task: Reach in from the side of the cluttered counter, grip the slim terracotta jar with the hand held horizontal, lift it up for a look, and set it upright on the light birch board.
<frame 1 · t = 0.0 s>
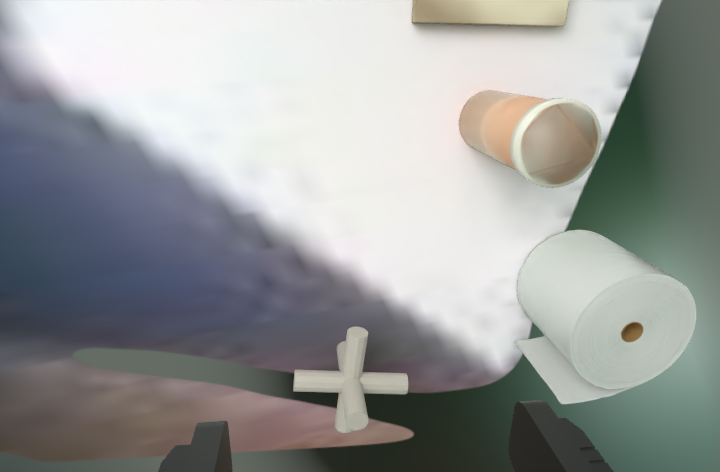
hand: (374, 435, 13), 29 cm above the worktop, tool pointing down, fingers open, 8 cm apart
pipe connector: (345, 347, 47), on the worktop
toilet tissue: (565, 284, 47), on the worktop
terracotta jar: (487, 121, 40), on the worktop
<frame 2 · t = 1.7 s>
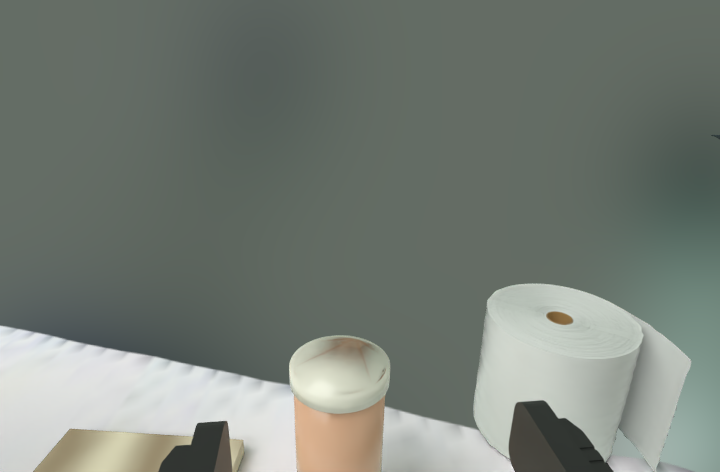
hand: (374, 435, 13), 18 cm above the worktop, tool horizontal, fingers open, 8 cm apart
toilet tissue: (547, 425, 38), on the worktop
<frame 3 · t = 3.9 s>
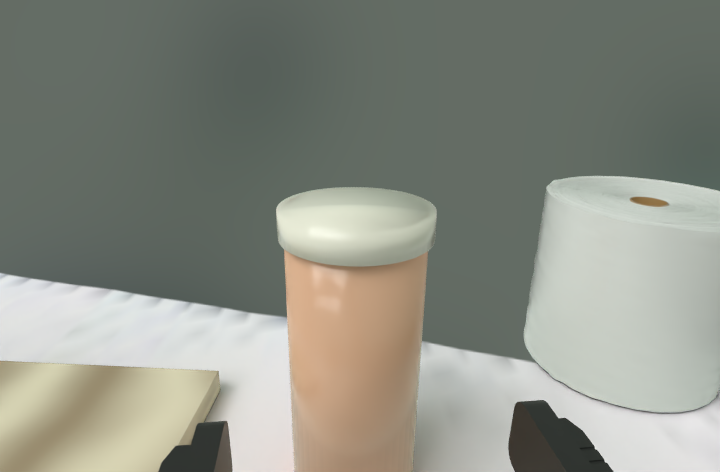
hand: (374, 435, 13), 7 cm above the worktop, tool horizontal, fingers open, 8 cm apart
toilet tissue: (623, 358, 29), on the worktop
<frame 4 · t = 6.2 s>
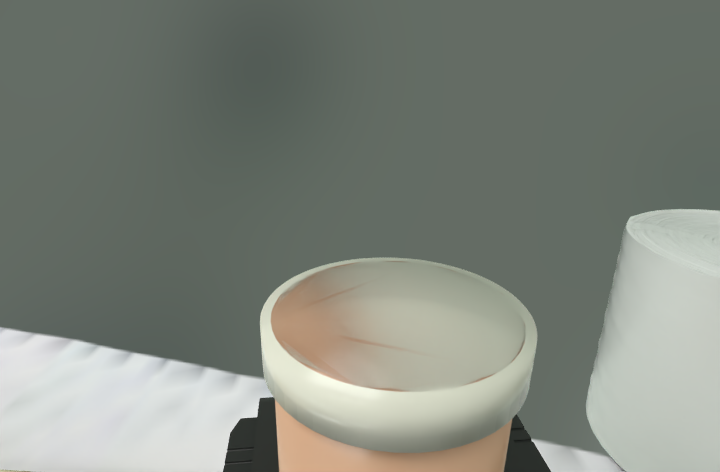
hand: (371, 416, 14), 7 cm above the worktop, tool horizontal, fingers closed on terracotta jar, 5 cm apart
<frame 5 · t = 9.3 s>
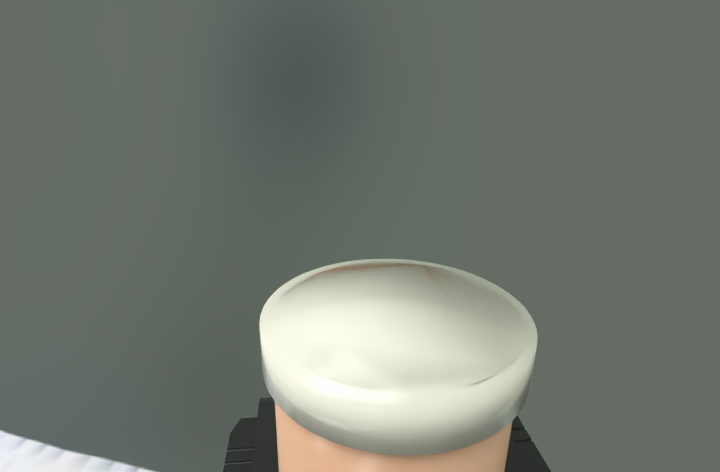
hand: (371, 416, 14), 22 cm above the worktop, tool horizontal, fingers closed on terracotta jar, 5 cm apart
when the fingers open (10 cm above the worktop, at t = 12.3 s): terracotta jar drops 1 cm, resting on birch board.
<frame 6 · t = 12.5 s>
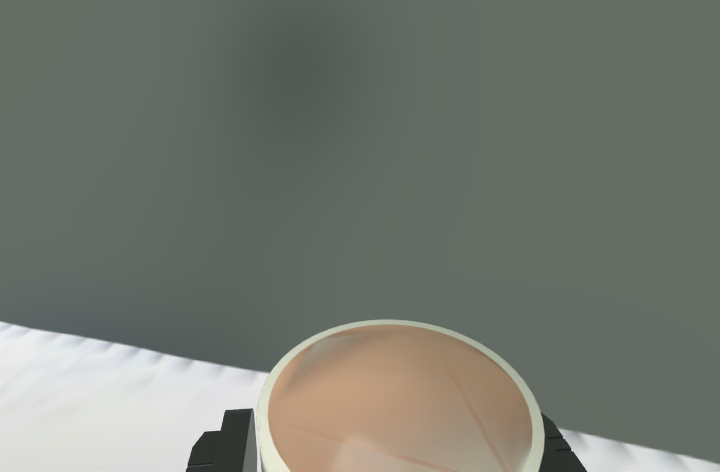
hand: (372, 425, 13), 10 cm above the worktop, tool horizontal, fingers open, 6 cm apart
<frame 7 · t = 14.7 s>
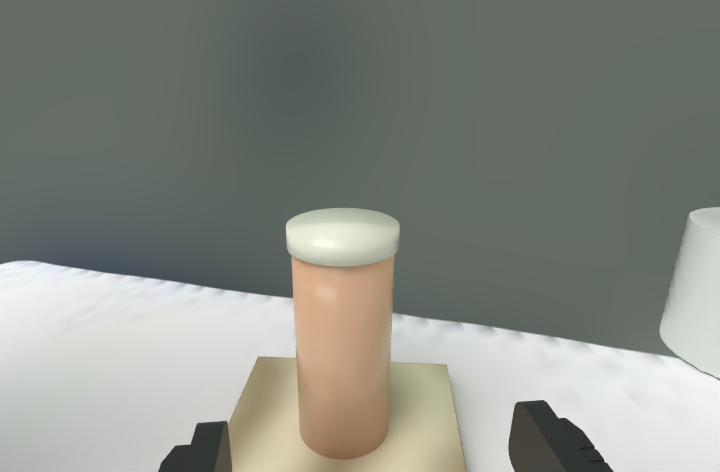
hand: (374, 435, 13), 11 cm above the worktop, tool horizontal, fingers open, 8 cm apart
birch board: (343, 439, 27), on the worktop
terracotta jar: (343, 424, 27), point 1 cm above the worktop, touching birch board
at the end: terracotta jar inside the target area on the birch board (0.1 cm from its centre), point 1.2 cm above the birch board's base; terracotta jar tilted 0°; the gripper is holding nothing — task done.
